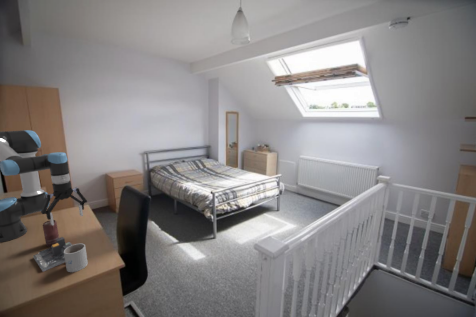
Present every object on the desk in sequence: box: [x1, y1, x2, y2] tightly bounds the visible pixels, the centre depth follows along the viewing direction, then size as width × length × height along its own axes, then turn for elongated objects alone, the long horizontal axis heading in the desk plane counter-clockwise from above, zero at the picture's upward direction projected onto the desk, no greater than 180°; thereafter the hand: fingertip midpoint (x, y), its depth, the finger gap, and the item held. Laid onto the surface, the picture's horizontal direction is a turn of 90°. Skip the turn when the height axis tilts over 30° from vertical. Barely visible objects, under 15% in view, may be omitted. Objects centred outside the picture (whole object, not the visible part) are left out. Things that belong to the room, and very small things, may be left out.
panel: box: [32, 241, 73, 273], centre depth 117 cm, size 17×16×2 cm
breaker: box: [56, 236, 66, 248], centre depth 122 cm, size 3×3×5 cm
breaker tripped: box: [50, 243, 61, 256], centre depth 116 cm, size 3×3×5 cm
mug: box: [64, 243, 89, 273], centre depth 110 cm, size 12×9×10 cm
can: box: [42, 219, 60, 248], centre depth 127 cm, size 6×6×14 cm
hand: (67, 219), depth 118 cm, fingers open, 12 cm apart
